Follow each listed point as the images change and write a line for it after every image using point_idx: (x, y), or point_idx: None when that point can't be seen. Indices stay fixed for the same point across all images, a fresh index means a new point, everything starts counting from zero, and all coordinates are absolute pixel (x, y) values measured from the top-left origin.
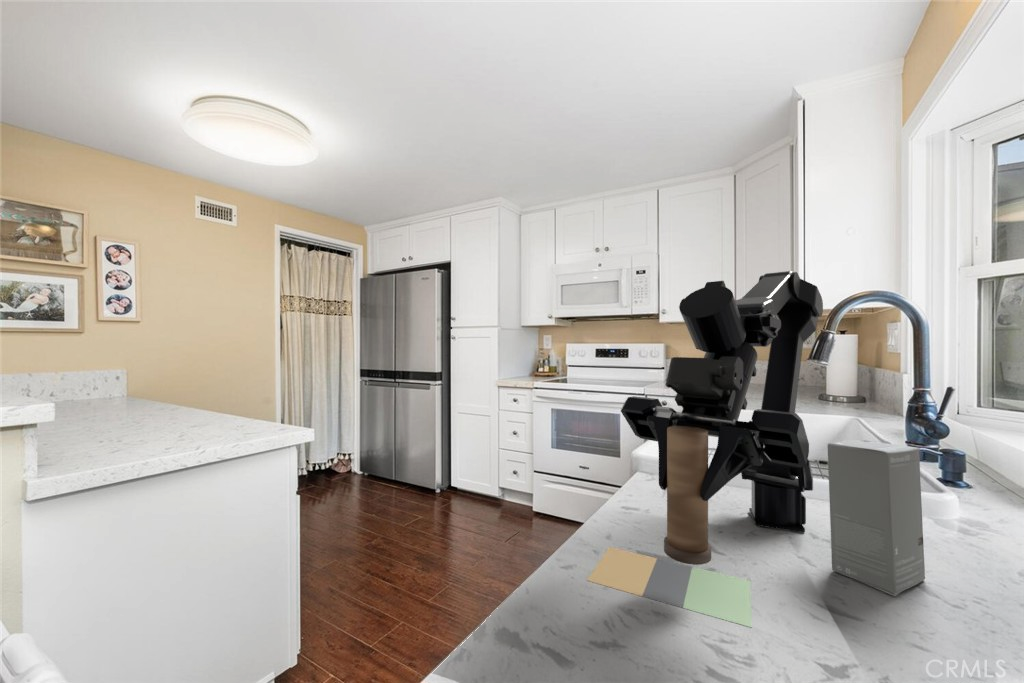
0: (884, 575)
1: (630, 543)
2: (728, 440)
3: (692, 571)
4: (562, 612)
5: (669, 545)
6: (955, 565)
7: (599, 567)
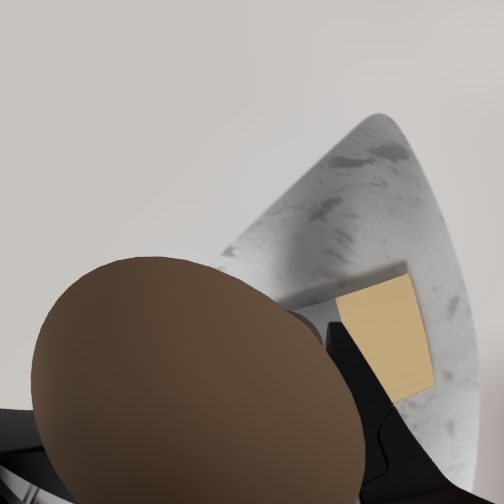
0: None
1: (418, 439)
2: (24, 423)
3: None
4: (393, 217)
5: (302, 320)
6: None
7: (416, 317)
